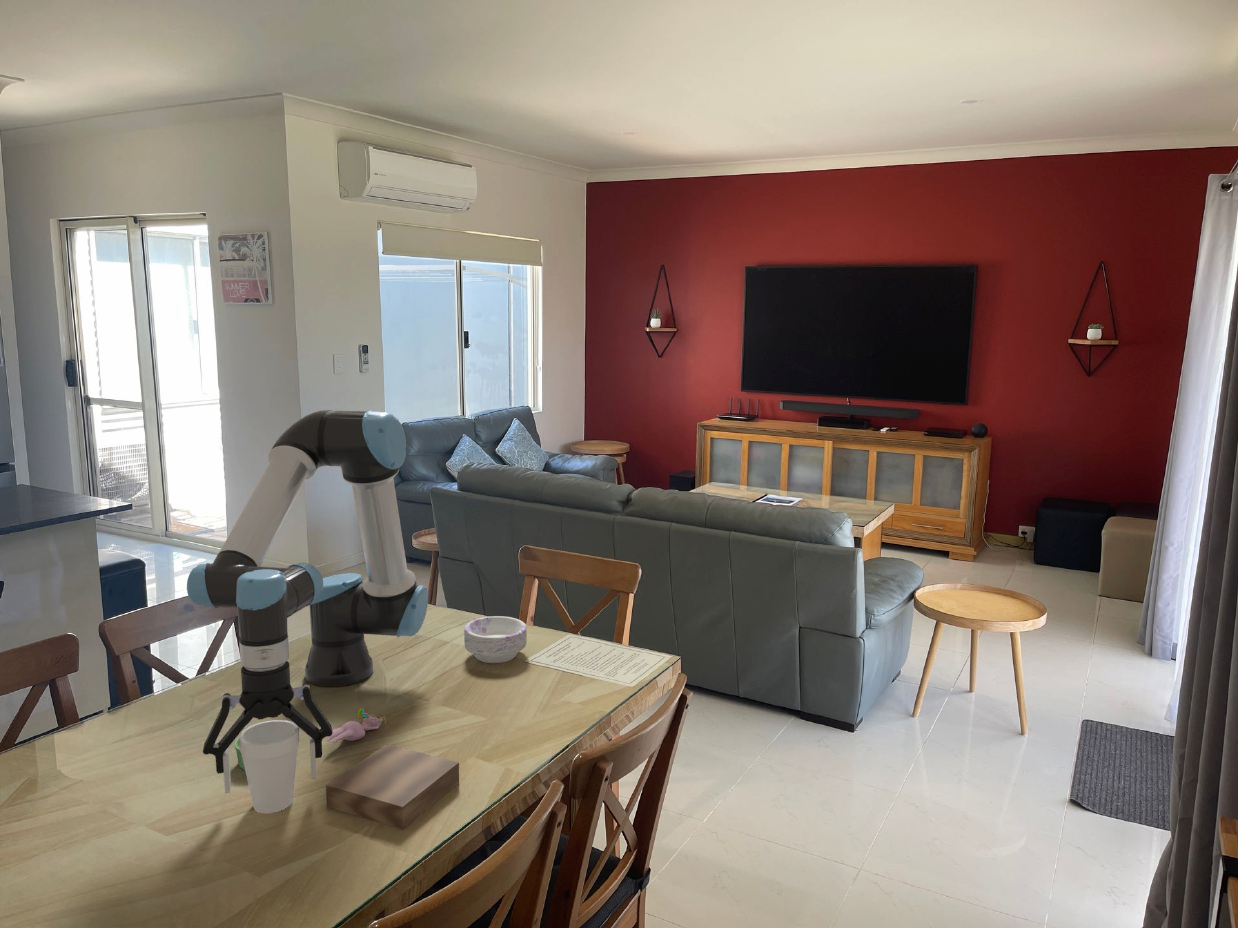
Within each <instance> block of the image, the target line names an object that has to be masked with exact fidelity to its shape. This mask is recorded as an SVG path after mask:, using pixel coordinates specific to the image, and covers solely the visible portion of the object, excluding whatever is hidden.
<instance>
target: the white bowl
mask: <svg viewBox="0 0 1238 928" xmlns="http://www.w3.org/2000/svg"><path fill="white" fill-rule="evenodd" d="M527 628H528V627H527V624H526V623H525V622H524V621H522V620H520V619H518V618H516V617H515V618H514V617H511V616H503V615H502V616H501V615H498V616H497V615H494V616H484V617H478V618H476V619H473V620H471V621H469V622H468V623H466V624H465V626H464V629H463V633H464V648H465V650H466V651H467V652H469V653H471V654H472V655H473V656H474V657H475V659H476V660H477V661H480V662H483V663H487V664H502V663H506V662H509V661H511V660H513V659H515V657H517V656H518V653H519V652H520V651H522V650H523V649H525V647H526V645H527V642H528V641H527V633H528V632H527V631H528V630H527Z"/></svg>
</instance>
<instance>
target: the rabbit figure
mask: <svg viewBox="0 0 1238 928" xmlns="http://www.w3.org/2000/svg"><path fill="white" fill-rule="evenodd" d="M364 709H365V708H364V707H361V708H360V709H359V710H358V711H357V717H358V718H359V719H361V720H362V723H360V722H359V721H356V720H350V721H347V722H346V723H344V724H343V725H342V726H341V727H339V728H334V729H332V735H331V736H329V737H328V736H327V738H326V742H329V741H330V742H331V740H333V739H334V740H333V741H332V743H333V744H334V743H336V742H338V741H340V740H342V739H344V740H347V741H350V742H351V741H352V742H353V741H357V740H360V739H363V738H364V737H365V736H366V732H367V731H372V730H378V729H379V728H380V727H381V726H382V723H383V724H387V721H386V715H384V717H383V716H380V717H379V718H377V717H376V713H374V714H371V715H369V713H367V712H364Z"/></svg>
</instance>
